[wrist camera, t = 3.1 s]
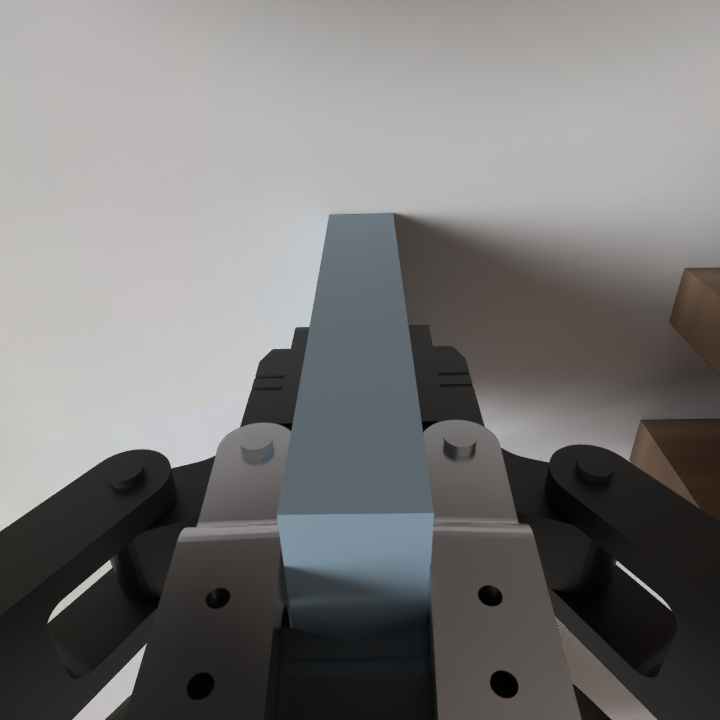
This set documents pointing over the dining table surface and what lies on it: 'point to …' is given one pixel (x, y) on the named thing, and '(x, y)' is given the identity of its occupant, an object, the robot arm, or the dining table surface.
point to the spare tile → (357, 450)
